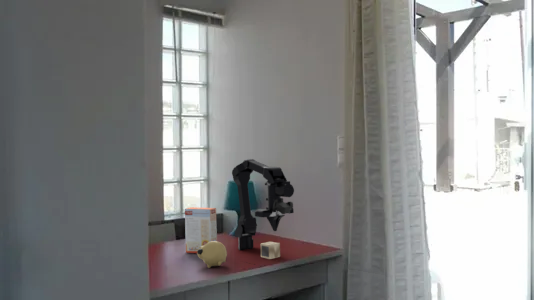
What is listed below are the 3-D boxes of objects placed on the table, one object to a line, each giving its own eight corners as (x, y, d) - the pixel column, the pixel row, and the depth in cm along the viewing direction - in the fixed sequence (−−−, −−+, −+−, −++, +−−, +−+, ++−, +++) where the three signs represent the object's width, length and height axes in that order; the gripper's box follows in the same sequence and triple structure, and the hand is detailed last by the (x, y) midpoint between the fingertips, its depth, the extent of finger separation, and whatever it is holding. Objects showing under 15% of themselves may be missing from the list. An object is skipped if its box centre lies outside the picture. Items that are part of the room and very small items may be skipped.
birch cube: (280, 256, 220) (269, 259, 216) (270, 254, 224) (260, 257, 220) (280, 243, 220) (269, 245, 216) (270, 241, 224) (260, 243, 220)
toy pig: (203, 263, 213) (203, 238, 213) (230, 264, 210) (229, 239, 210) (194, 268, 204) (193, 242, 204) (221, 270, 200) (221, 243, 200)
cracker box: (217, 252, 234) (216, 207, 234) (211, 255, 229) (210, 209, 229) (192, 250, 240) (191, 206, 240) (185, 252, 235) (184, 208, 235)
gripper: (271, 198, 210) (272, 236, 210) (302, 195, 222) (302, 230, 223) (253, 197, 218) (254, 233, 218) (284, 193, 231) (285, 227, 231)
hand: (275, 231), depth 222 cm, fingers closed
